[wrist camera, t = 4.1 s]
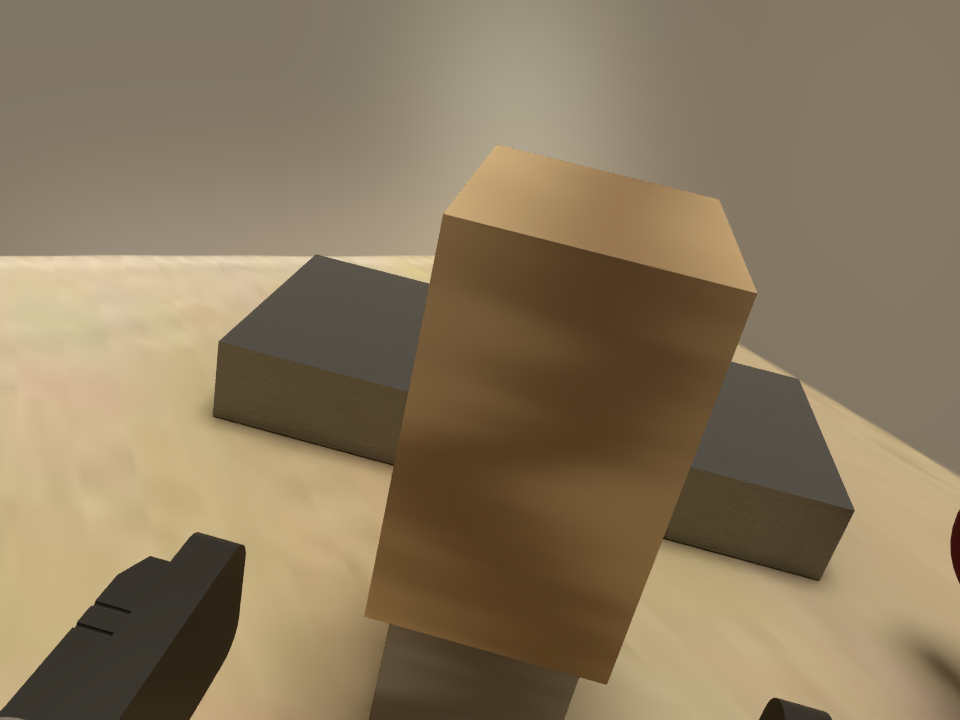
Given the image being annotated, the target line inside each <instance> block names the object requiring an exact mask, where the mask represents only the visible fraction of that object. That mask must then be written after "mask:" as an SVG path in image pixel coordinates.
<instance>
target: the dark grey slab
mask: <svg viewBox="0 0 960 720" xmlns="http://www.w3.org/2000/svg"><path fill="white" fill-rule="evenodd" d="M428 290H429V284H428V283H425V282H421V281H417V280H413V279H409V278H405V277H401V276H397V275H394V274H390V273H386V272H382V271H378V270H374V269H370V268H367V267H363V266H359V265H355V264H351V263H347V262H343V261H339V260H336V259H332V258H328V257H324V256H320V255H315V256H314V257H313V258H311V259H310V260H309V261H308V262H307V263H306V264H305V265H304V266H303V267H301V268H300V269H299V270H298V271H297V272H296V273H295V274H294V275H292V276H291V277H290V278H289V279H288V280H287V281H286V282H285V283H284V284H282V285H281V286H280V287H279V288H278V289H277V290H276V291H275V292H273V293H272V294H271V295H270V296H269V297H268V298H267V299H266V300H265V301H263V302H262V303H261V304H260V305H259V306H258V307H257V308H256V309H254V310H253V311H252V312H251V313H250V314H249V315H248V316H247V317H246V318H244V319H243V320H242V321H241V322H240V323H239V324H238V325H237V326H235V327H234V328H233V329H232V330H231V331H230V332H229V333H228V334H227V335H225V336H224V337H223V338H222V339H221V340H220V341H219V344H218V357H217V370H216V382H215V395H214V408H213V416H216V417H219V418H223V419H227V420H231V421H234V422H238V423H242V424H245V425H249V426H253V427H256V428H260V429H264V430H267V431H271V432H275V433H279V434H282V435H286V436H290V437H293V438H297V439H301V440H304V441H308V442H312V443H315V444H319V445H323V446H326V447H330V448H334V449H338V450H341V451H345V452H349V453H352V454H356V455H360V456H363V457H367V458H371V459H374V460H378V461H382V462H386V463H389V464H393V465H394V463H395V458H396V453H397V448H398V442H399V437H400V432H401V427H402V422H403V417H404V412H405V407H406V402H407V397H408V391H409V386H410V381H411V376H412V371H413V366H414V361H415V356H416V351H417V346H418V341H419V335H420V330H421V325H422V320H423V315H424V310H425V305H426V300H427V295H428ZM854 511H855V510H854V508H853V506H852V503H851V501H850V499H849V496H848V494H847V491H846V489H845V487H844V484H843V482H842V480H841V477H840V475H839V473H838V470H837V468H836V466H835V463H834V461H833V458H832V456H831V454H830V451H829V449H828V447H827V444H826V442H825V440H824V437H823V435H822V433H821V430H820V428H819V425H818V423H817V421H816V418H815V416H814V414H813V411H812V409H811V407H810V404H809V402H808V400H807V397H806V395H805V393H804V390H803V388H802V385H801V383H800V381H799V379H796V378H792V377H788V376H784V375H781V374H777V373H773V372H769V371H765V370H761V369H757V368H753V367H750V366H746V365H742V364H738V363H734V362H731V363H730V366H729V368H728V371H727V373H726V376H725V379H724V381H723V384H722V386H721V389H720V392H719V394H718V397H717V399H716V402H715V405H714V407H713V410H712V412H711V415H710V418H709V420H708V423H707V425H706V428H705V431H704V433H703V436H702V438H701V441H700V444H699V446H698V449H697V451H696V454H695V457H694V459H693V462H692V464H691V467H690V470H689V472H688V475H687V477H686V480H685V483H684V485H683V488H682V490H681V493H680V496H679V498H678V501H677V503H676V506H675V509H674V511H673V514H672V516H671V519H670V522H669V524H668V527H667V529H666V532H665V535H664V537H663V538H666V539H670V540H673V541H677V542H681V543H684V544H688V545H692V546H695V547H699V548H703V549H706V550H710V551H714V552H718V553H721V554H725V555H729V556H732V557H736V558H740V559H743V560H747V561H751V562H754V563H758V564H762V565H765V566H769V567H773V568H777V569H780V570H784V571H788V572H791V573H795V574H799V575H802V576H806V577H810V578H813V579H817V580H820V579H821V577H822V575H823V573H824V571H825V569H826V567H827V565H828V563H829V561H830V559H831V557H832V555H833V553H834V551H835V549H836V547H837V545H838V543H839V541H840V539H841V537H842V535H843V533H844V531H845V529H846V527H847V525H848V523H849V521H850V519H851V517H852V515H853V513H854Z"/></svg>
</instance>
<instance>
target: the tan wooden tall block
mask: <svg viewBox="0 0 960 720" xmlns="http://www.w3.org/2000/svg"><path fill="white" fill-rule="evenodd" d="M756 295H757V291H756V289H755V287H754V284H753V282H752V279H751V277H750V274H749V272H748V269H747V267H746V265H745V262H744V260H743V257H742V255H741V253H740V250H739V247H738V245H737V243H736V240H735V238H734V235H733V233H732V230H731V228H730V226H729V223H728V220H727V218H726V216H725V213H724V211H723V208H722V206H721V203H720V201H719V200H718V199H714V198H710V197H706V196H702V195H698V194H694V193H690V192H686V191H682V190H678V189H674V188H670V187H666V186H662V185H657V184H654V183H650V182H646V181H642V180H637V179H634V178H630V177H626V176H622V175H618V174H613V173H609V172H605V171H601V170H597V169H593V168H589V167H585V166H581V165H577V164H573V163H569V162H565V161H561V160H557V159H553V158H549V157H545V156H541V155H537V154H533V153H529V152H524V151H521V150H517V149H513V148H508V147H505V146H500V145H496V146H495V148H494V149H493V150H492V152H491V153H490V154H489V155H488V157H487V158H486V159H485V161H484V162H483V163H482V164H481V166H480V167H479V168H478V170H477V171H476V172H475V174H474V175H473V176H472V177H471V179H470V180H469V181H468V183H467V184H466V185H465V187H464V188H463V189H462V190H461V192H460V193H459V194H458V195H457V197H456V198H455V199H454V201H453V202H452V203H451V205H450V206H449V207H448V209H447V210H446V211H445V212H444V214H443V218H442V223H441V228H440V234H439V239H438V244H437V249H436V254H435V259H434V264H433V269H432V274H431V279H430V284H429V290H428V295H427V300H426V305H425V310H424V315H423V320H422V325H421V330H420V335H419V341H418V346H417V351H416V356H415V361H414V366H413V371H412V376H411V381H410V386H409V391H408V397H407V402H406V407H405V412H404V417H403V422H402V427H401V432H400V437H399V442H398V448H397V453H396V458H395V463H394V468H393V473H392V478H391V483H390V488H389V493H388V499H387V504H386V509H385V514H384V519H383V524H382V529H381V534H380V539H379V544H378V549H377V555H376V560H375V565H374V570H373V575H372V580H371V585H370V590H369V595H368V600H367V606H366V611H365V617H368V618H372V619H375V620H379V621H382V622H386V623H389V624H390V625H389V629H388V634H387V639H386V643H385V648H384V653H383V657H382V662H381V667H380V671H379V676H378V681H377V685H376V690H375V694H374V699H373V704H372V708H371V713H370V718H369V720H564V717H565V715H566V712H567V709H568V706H569V704H570V701H571V698H572V695H573V693H574V690H575V687H576V684H577V681H578V679H579V677H581V678H585V679H588V680H592V681H595V682H599V683H602V684H606V685H607V683H608V680H609V678H610V675H611V672H612V670H613V667H614V665H615V662H616V659H617V657H618V654H619V652H620V649H621V646H622V644H623V641H624V639H625V636H626V633H627V631H628V628H629V626H630V623H631V620H632V618H633V615H634V613H635V610H636V607H637V605H638V602H639V600H640V597H641V594H642V592H643V589H644V587H645V584H646V581H647V579H648V576H649V574H650V571H651V568H652V566H653V563H654V561H655V558H656V555H657V553H658V550H659V548H660V545H661V542H662V540H663V537H664V535H665V532H666V529H667V527H668V524H669V522H670V519H671V516H672V514H673V511H674V509H675V506H676V503H677V501H678V498H679V496H680V493H681V490H682V488H683V485H684V483H685V480H686V477H687V475H688V472H689V470H690V467H691V464H692V462H693V459H694V457H695V454H696V451H697V449H698V446H699V444H700V441H701V438H702V436H703V433H704V431H705V428H706V425H707V423H708V420H709V418H710V415H711V412H712V410H713V407H714V405H715V402H716V399H717V397H718V394H719V392H720V389H721V386H722V384H723V381H724V379H725V376H726V373H727V371H728V368H729V366H730V363H731V360H732V358H733V355H734V353H735V350H736V347H737V345H738V342H739V340H740V337H741V334H742V331H743V329H744V326H745V324H746V321H747V318H748V316H749V313H750V311H751V308H752V306H753V303H754V300H755V298H756Z"/></svg>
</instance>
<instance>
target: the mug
mask: <svg viewBox="0 0 960 720" xmlns="http://www.w3.org/2000/svg"><path fill="white" fill-rule="evenodd" d="M951 558H952V563H953V568H954V570H955V573H956V576H957V579H958V581H959V583H960V510H959V512H958V514H957V517H956V519H955V522H954V525H953V529H952V535H951Z"/></svg>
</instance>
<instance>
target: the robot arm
mask: <svg viewBox="0 0 960 720" xmlns="http://www.w3.org/2000/svg"><path fill="white" fill-rule="evenodd" d="M245 556H246V550H245V546H244V545H241V544H238V543H234V542H231V541H227V540H224V539H220V538H217V537H213V536H209V535H206V534H202V533H199V532H196V533H194V534H193V535H192V536H191V537H190V538H189V539H188V540H187V541H186V543H185V544H184V545H183V546H182V548H181V549H180V550H179V552H178V553H177V554H176V555H175V557H174V558H173V559H172V560H171V562H169V561H166V560H162V559H159V558H155V557H152V556H149V557H148V558H146V559H144V560H142V561H141V562H139V563H137V564H135V565H134V566H132V567H130V568H128V569H127V570H125V571H123V572H122V573H120V574H118V575H117V576H116V577H115V578H114V580H113V581H112V582H111V583H110V584H109V585H108V587H107V588H106V589H105V590H104V591H103V592H102V594H101V595H100V596H99V597H98V598H97V599H96V601H95V604H94V606H90V608H89V609H88V610H87V611H86V612H85V613H84V615H83V616H82V617H81V618H80V619H79V620H78V622H77V625H76V627H75V628H72V629H71V630H70V631H69V632H68V633H67V634H66V636H65V637H64V638H63V639H62V640H61V641H60V643H59V644H58V645H57V646H56V647H55V648H54V650H53V651H52V652H51V653H50V654H49V655H48V657H47V658H46V659H45V660H44V661H43V663H42V664H41V665H40V666H39V667H38V668H37V670H36V671H35V672H34V673H33V674H32V675H31V677H30V678H29V679H28V680H27V681H26V682H25V684H24V685H23V686H22V687H21V688H20V689H19V691H18V692H17V693H16V694H15V695H14V696H13V698H12V699H11V700H10V701H9V702H8V703H7V705H6V706H5V707H4V708H3V709H2V710H1V711H0V720H190V718H191V716H192V715H193V713H194V711H195V710H196V708H197V706H198V705H199V703H200V701H201V700H202V698H203V696H204V695H205V693H206V691H207V689H208V688H209V686H210V684H211V683H212V681H213V679H214V678H215V676H216V674H217V673H218V671H219V669H220V668H221V666H222V664H223V662H224V661H225V659H226V657H227V655H228V652H229V650H230V648H231V645H232V642H233V640H234V637H235V633H236V630H237V626H238V620H239V612H240V603H241V594H242V584H243V575H244V566H245ZM759 720H832V719H831V717H830V715H829V714H828V713H826V712H824V711H821V710H817V709H814V708H810V707H807V706H803V705H800V704H796V703H793V702H789V701H785V700H782V699H778V698H773V699H771V700H770V701H769V702H768V704H767V705H766V707H765V709H764V711H763V713H762V715H761V717H760V719H759Z"/></svg>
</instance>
